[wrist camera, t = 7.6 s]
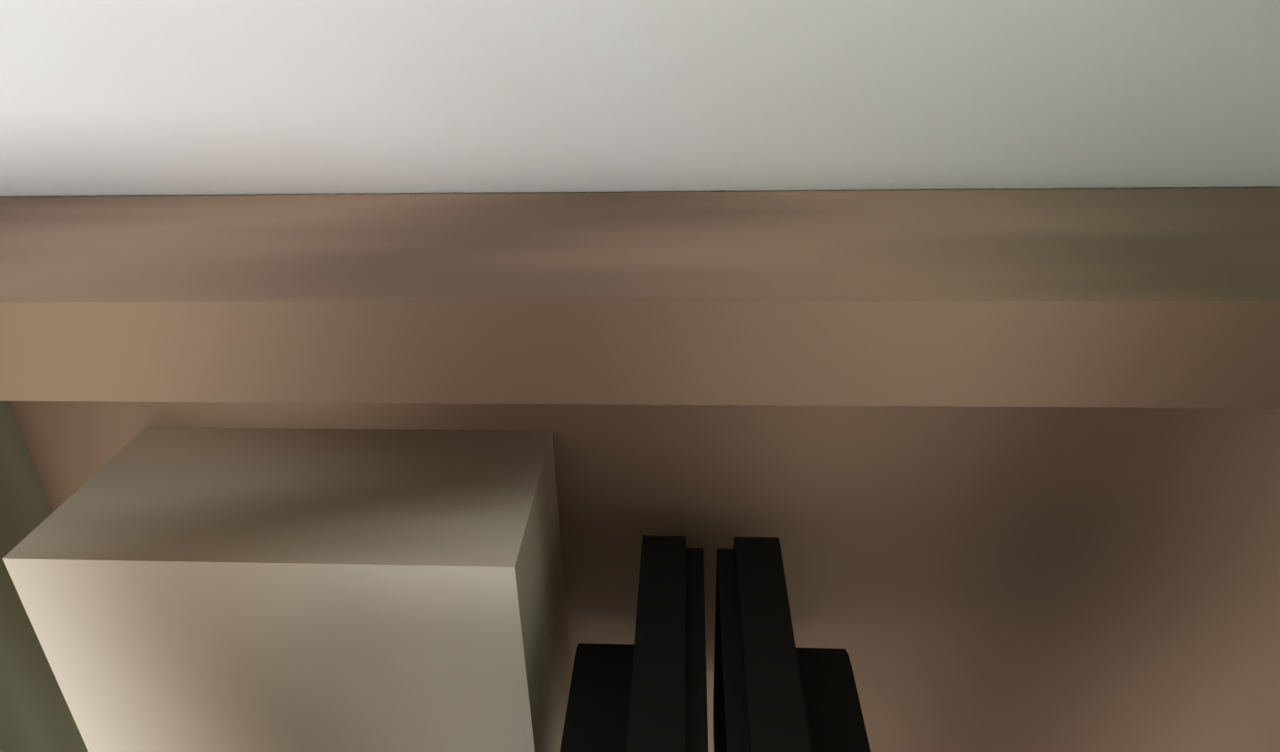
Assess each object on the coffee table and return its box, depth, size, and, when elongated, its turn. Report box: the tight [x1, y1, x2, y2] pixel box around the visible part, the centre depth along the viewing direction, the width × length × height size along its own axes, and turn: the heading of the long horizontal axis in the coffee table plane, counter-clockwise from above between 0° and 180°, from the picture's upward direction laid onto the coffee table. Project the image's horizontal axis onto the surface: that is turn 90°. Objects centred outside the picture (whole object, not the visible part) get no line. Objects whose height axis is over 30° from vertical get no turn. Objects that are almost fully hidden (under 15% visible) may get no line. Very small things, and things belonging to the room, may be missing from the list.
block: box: [2, 427, 571, 752], centre depth 11 cm, size 5×5×2 cm
